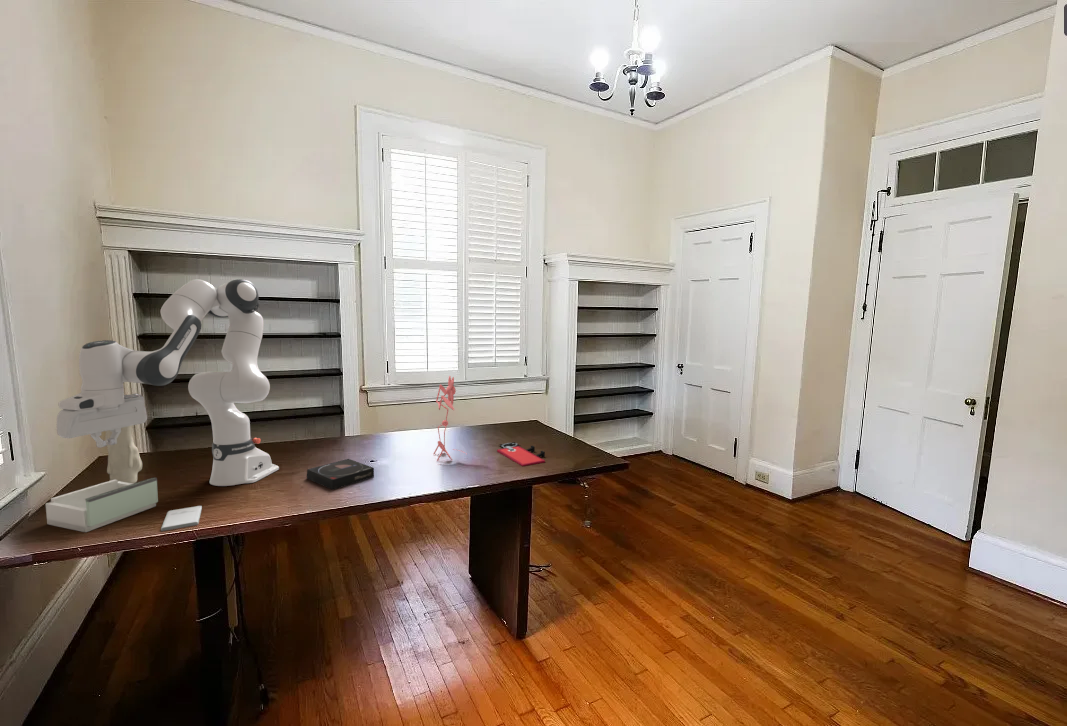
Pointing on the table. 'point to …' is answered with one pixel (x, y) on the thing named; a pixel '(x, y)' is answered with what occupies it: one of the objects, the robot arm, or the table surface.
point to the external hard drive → (182, 518)
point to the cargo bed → (82, 507)
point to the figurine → (450, 392)
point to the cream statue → (123, 457)
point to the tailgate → (121, 501)
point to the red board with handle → (521, 454)
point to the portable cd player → (340, 473)
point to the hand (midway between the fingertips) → (106, 445)
